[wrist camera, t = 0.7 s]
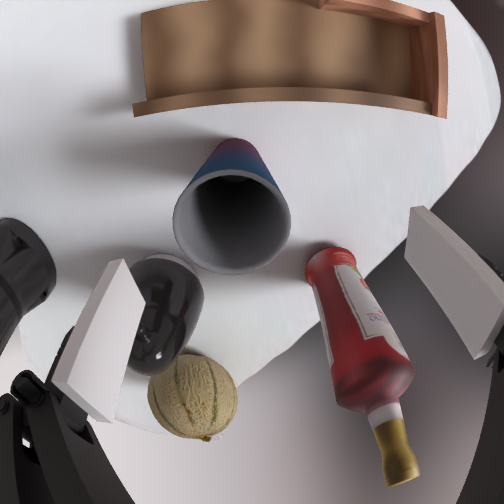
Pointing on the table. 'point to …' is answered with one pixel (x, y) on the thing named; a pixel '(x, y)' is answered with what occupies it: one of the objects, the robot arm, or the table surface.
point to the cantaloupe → (193, 397)
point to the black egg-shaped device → (164, 312)
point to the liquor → (363, 356)
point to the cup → (232, 212)
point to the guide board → (294, 54)
